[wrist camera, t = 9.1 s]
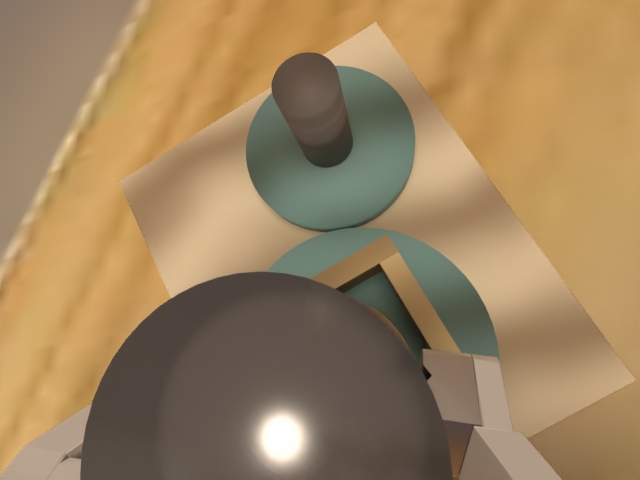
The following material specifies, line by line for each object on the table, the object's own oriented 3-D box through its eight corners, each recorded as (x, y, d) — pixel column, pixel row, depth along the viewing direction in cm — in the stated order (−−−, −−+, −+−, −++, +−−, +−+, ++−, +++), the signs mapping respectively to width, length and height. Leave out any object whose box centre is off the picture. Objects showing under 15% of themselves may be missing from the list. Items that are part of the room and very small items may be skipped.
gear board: (619, 376, 17) (779, 417, 10) (296, 550, 18) (232, 701, 11) (376, 37, 22) (368, -96, 15) (132, 188, 23) (16, 130, 16)
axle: (429, 383, 14) (542, 576, 4) (331, 438, 14) (164, 770, 4) (371, 284, 15) (325, 207, 5) (280, 337, 15) (35, 379, 5)
